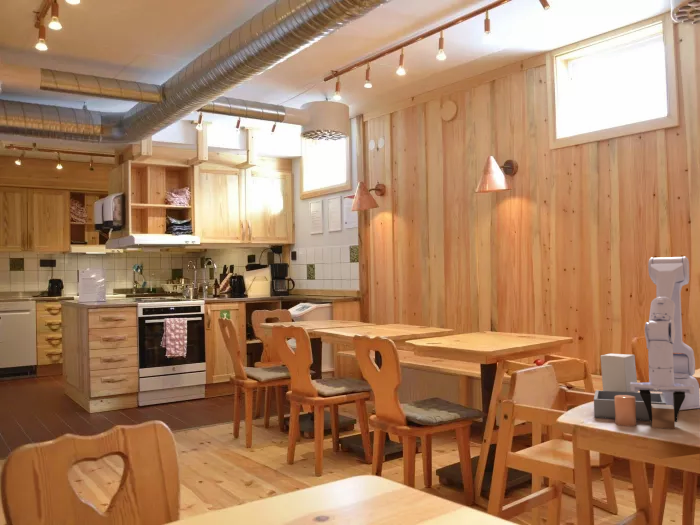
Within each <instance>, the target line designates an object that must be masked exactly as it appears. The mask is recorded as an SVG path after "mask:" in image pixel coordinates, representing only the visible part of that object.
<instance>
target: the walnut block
mask: <svg viewBox="0 0 700 525" xmlns="http://www.w3.org/2000/svg"><path fill="white" fill-rule="evenodd" d="M651 411H652V421H651V427H652V428H653V429H656V428H657V429H667V430H676V425H675V424H676V422H675V420H674V407H673V405H662V404H651Z"/></svg>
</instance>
